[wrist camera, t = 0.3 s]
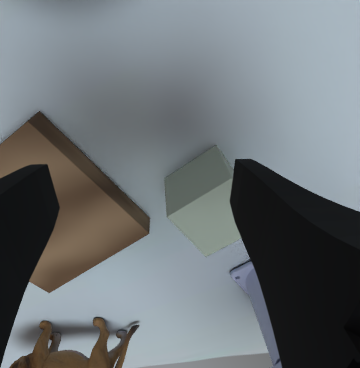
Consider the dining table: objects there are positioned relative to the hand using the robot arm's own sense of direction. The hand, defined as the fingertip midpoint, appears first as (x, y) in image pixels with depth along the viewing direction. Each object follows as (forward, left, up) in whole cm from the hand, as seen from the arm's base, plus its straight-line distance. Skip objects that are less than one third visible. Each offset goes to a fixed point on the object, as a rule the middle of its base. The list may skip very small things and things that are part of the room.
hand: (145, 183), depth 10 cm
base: (-2, +12, -10) cm, 16 cm away
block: (-8, 0, -10) cm, 12 cm away
